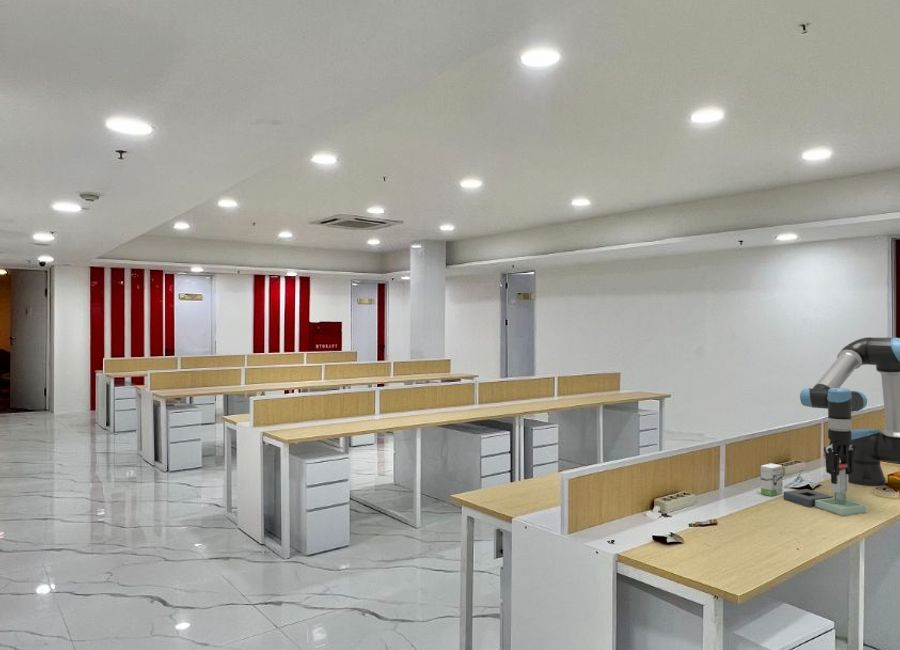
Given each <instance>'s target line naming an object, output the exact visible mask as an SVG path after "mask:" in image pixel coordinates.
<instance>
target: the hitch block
mask: <svg viewBox="0 0 900 650" xmlns="http://www.w3.org/2000/svg"><path fill="white" fill-rule="evenodd" d="M828 498H834V496H832V495H830V494H825V493H822V492H818V491H814V490H812V489H808V488H804V489H795V490H787V491H783V500H785V501H788V502H790V503H794V504H797V505H801V506H804V507H806V508H815V500H820V499H828Z"/></svg>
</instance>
